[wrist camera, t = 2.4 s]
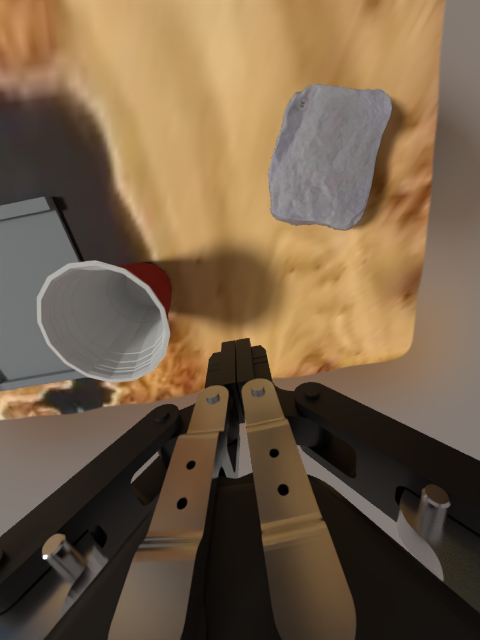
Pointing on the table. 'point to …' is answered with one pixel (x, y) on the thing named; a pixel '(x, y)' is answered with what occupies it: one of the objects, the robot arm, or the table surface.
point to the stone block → (327, 155)
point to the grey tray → (29, 291)
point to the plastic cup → (106, 318)
